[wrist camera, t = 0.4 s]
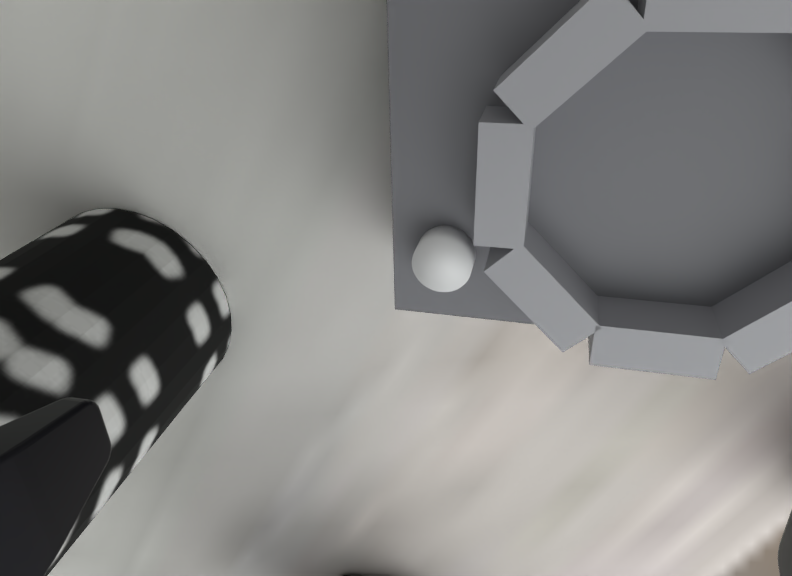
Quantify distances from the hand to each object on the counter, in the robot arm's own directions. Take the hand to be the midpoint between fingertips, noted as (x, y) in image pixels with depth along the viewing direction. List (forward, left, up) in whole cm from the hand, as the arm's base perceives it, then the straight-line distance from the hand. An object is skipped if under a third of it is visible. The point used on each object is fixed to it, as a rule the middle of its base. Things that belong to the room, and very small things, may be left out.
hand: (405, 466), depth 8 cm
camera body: (+1, -4, -14) cm, 14 cm away
